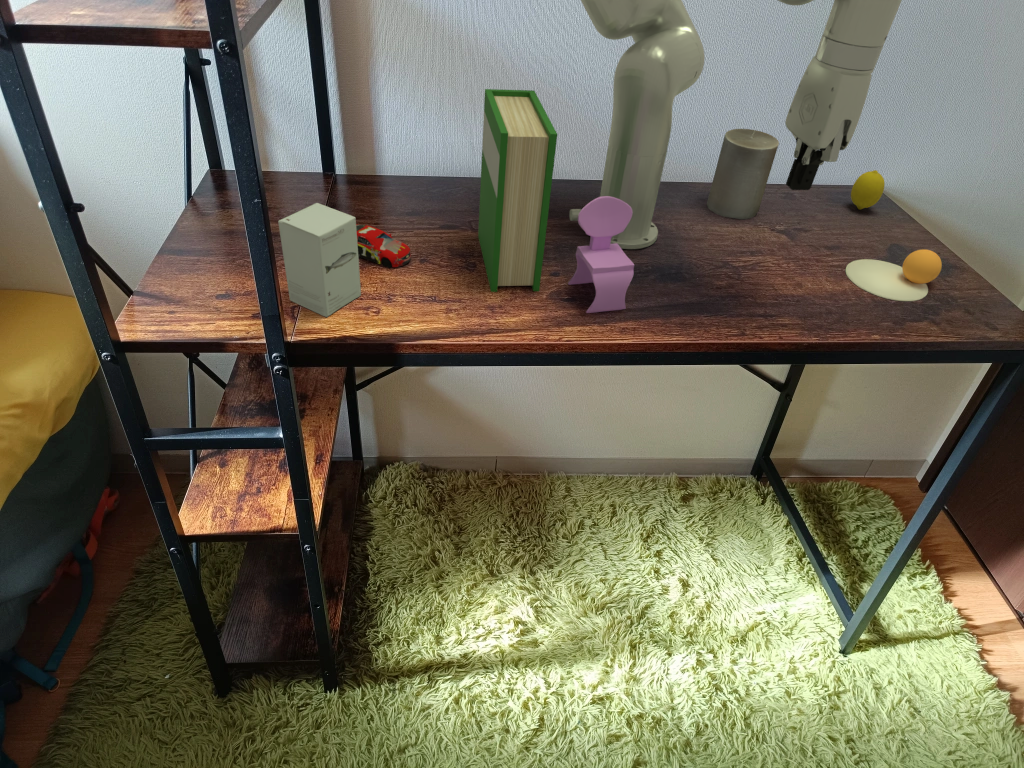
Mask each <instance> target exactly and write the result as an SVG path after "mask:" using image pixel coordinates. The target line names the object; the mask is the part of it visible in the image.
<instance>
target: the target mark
mask: <svg viewBox="0 0 1024 768" xmlns="http://www.w3.org/2000/svg"><path fill="white" fill-rule="evenodd" d="M902 267H903V266H900V265H899V264H895V263H892V262H889V261H884V260H878V259H871V258H870V259H869V258H868V259H867V258H864V259H862V258H861V259H856V260H853V261H850V262H849V263H848V264H847V265H846V268H845V274H846V276H847V278H848V280H850V282H852V284H854V285H855V286H856V287H858V288H860V290H861V289H862V290H863V291H865V292H867V293H868V294H872V295H874V296H877V297H880V298H883V299H886V300H891V301H898V302H916V301H919V300H922V299H924V298H925V297H926V296H927V295H928V293H929V288H928V285H927V283H924V284H917V283H913V282H911V281H909V280H908V279H907V278H906V277H905V275H904V273H903V269H902Z"/></svg>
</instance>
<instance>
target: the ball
mask: <svg viewBox="0 0 1024 768" xmlns="http://www.w3.org/2000/svg"><path fill="white" fill-rule="evenodd" d="M942 263H943V262H942V259H941V256H939V255H938V254H937V253H936V252H934V251H933V250H930V249H917V250H914V251H912V252H911V253H909V254H908V255H907V256H906V257H905V259H904V261H903V263H902V266H901V267H902V269H903V273H904V275H905V277H906V278H907V279H908V280H909V281H911V282H913V283H917V284H924V283H926V284H928V283H930V282H932V281H933V280H935V279H936V278H937V277H938V276H940V273H941V271H942Z"/></svg>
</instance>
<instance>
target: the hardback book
mask: <svg viewBox="0 0 1024 768" xmlns="http://www.w3.org/2000/svg"><path fill="white" fill-rule="evenodd" d="M483 103H484V104H483V125H482V147H481V167H480V168H481V170H480V190H479V211H478V230H477V231H478V232H477V237H478V241H479V245H480V246H479V247H480V249H481V254H482V258H483V262H484V268H485V272H486V276H487V280H488V286H489V289H490V293H497V292H498V287H506V286H507V287H513V286H516V287H519V286H531V289H532V291H533V292H540V290H541V289H540V287H541V280H542V272H543V262H544V253H545V246H546V244H545V243H546V237H547V236H546V235H547V229H548V219H549V209H550V203H551V192H552V186H553V185H552V183H553V176H554V175H553V174H554V167H555V158H556V150H557V140H558V132H557V131H556V129H555V127H554V126H553V123H552V121H551V120H550V118H549V115H548V114H547V112H546V110H545V107H544V106H543V104H542V102H541V100H540V99H539V97H538V95H537V93H536V91H535V90H531V89H530V90H529V89H528V90H527V89H526V90H525V89H498V88H497V89H496V88H495V89H493V88H492V89H491V88H489V89H488V88H484V101H483Z"/></svg>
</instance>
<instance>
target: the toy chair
mask: <svg viewBox="0 0 1024 768" xmlns="http://www.w3.org/2000/svg"><path fill="white" fill-rule="evenodd" d="M631 217H632V209H631V207H630V206H629V205H628V204H627V203H625V202H624V201H622V200H620V199H617V198H614V197H610V196H602V197H600V196H598V197H596V198H594V199H593V200H591V201H590V202H588V203H587V204H585V206H584V207H583V208H582V209H581V211H580V213H579V215H578V221H577V223H578V225H579V227H580V228H581V229H582V230H583V231H584V232H585V235H587V236H590V238H589V245H579V246H577V248H576V251H575V258H576V269H575V272H574V273H573V275H572V277H571V278H570V279H569V280H568V283H567V285H581V284H589V283H590V284H591V283H593V285H594V289H595V297H594V299H593V301H592V303H591V305H590V306H589V307H588V308H587V310H586V311H585V313H586V314H590V313H591V314H592V313H599V312H600V313H601V312H609V311H610V312H611V311H620V310H626V309H627V308H626V307H627V306H626V293H627V290H628V289H629V287H630V284H631V283H632V282H631V281H632V280H633V277H634V269H635V264H634V262H633V260H631V258H629V257H628V256H627V254H626V253H625V252H624V251H623V250H624V249H621V247H620V246H619V245H618V244H617V243H614V244H610V242H611V238H612V236H614V235H617V234H619V233H621V232H623V231H624V229H625V228H626V226H627V225H628V223H629V222H630V220H631Z"/></svg>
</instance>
